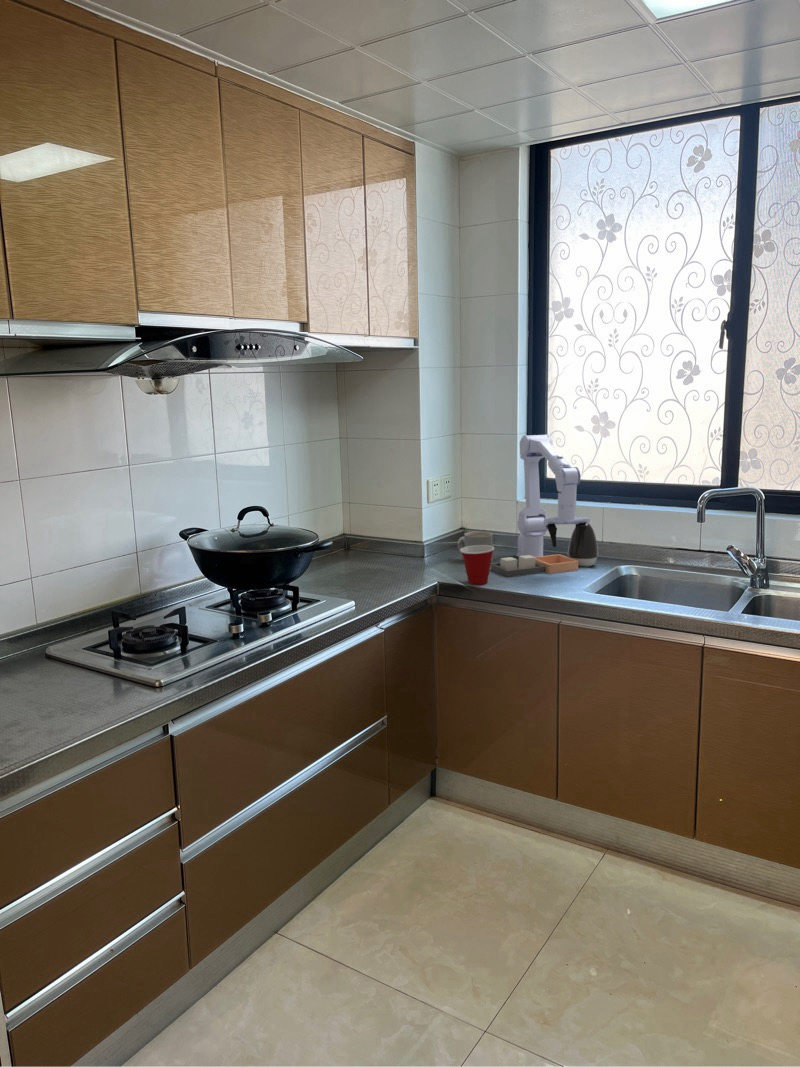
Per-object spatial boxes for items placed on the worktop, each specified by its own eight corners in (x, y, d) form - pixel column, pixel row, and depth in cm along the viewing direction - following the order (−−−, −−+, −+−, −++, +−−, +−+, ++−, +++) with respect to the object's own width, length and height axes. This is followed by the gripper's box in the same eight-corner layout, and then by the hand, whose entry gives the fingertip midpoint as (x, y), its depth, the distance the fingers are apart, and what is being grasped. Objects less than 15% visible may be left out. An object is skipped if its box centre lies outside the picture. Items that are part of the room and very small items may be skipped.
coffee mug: (498, 561, 282) (498, 534, 280) (478, 566, 276) (478, 538, 274) (471, 555, 292) (471, 528, 290) (451, 560, 286) (451, 532, 284)
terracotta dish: (531, 567, 273) (531, 557, 272) (559, 564, 277) (559, 554, 276) (549, 575, 263) (549, 564, 262) (578, 571, 267) (578, 561, 266)
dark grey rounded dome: (595, 561, 280) (596, 519, 277) (599, 569, 270) (601, 524, 267) (565, 561, 281) (567, 519, 278) (569, 568, 271) (570, 524, 268)
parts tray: (490, 571, 269) (490, 563, 269) (527, 566, 275) (527, 559, 274) (507, 579, 259) (507, 571, 259) (545, 574, 264) (545, 566, 264)
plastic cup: (462, 579, 260) (462, 543, 257) (495, 580, 258) (495, 544, 255) (457, 588, 249) (457, 550, 247) (492, 589, 247) (492, 551, 245)
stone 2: (518, 569, 269) (518, 556, 268) (528, 567, 271) (529, 554, 270) (524, 571, 266) (525, 558, 265) (535, 570, 267) (535, 557, 266)
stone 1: (500, 571, 267) (500, 558, 266) (510, 570, 268) (510, 557, 267) (506, 574, 263) (506, 560, 262) (516, 572, 264) (517, 559, 264)
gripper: (547, 507, 254) (546, 549, 257) (592, 506, 254) (591, 548, 257) (542, 503, 261) (541, 544, 263) (586, 502, 261) (585, 543, 264)
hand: (565, 546), depth 261 cm, fingers open, 7 cm apart
